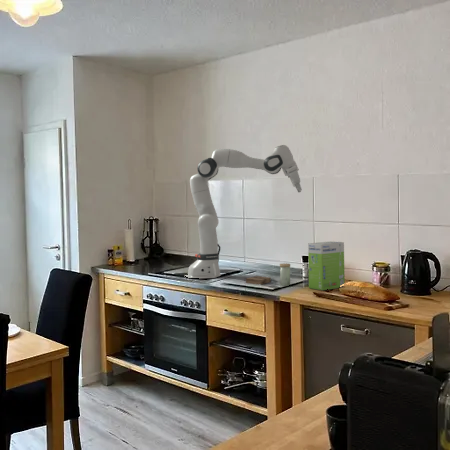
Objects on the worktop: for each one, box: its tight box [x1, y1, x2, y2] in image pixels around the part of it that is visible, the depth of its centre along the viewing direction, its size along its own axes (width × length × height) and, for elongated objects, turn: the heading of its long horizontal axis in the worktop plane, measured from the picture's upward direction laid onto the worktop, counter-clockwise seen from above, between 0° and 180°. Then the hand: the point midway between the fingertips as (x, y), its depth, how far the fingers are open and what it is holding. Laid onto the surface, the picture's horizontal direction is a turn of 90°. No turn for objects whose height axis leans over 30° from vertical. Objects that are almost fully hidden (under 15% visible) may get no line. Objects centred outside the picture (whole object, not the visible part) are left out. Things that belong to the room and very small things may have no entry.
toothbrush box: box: [307, 241, 346, 291], centre depth 273 cm, size 18×10×24 cm, turn 126°
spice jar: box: [279, 262, 291, 287], centre depth 284 cm, size 6×6×12 cm
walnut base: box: [245, 275, 272, 285], centre depth 294 cm, size 10×10×2 cm
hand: (300, 191), depth 307 cm, fingers open, 8 cm apart
